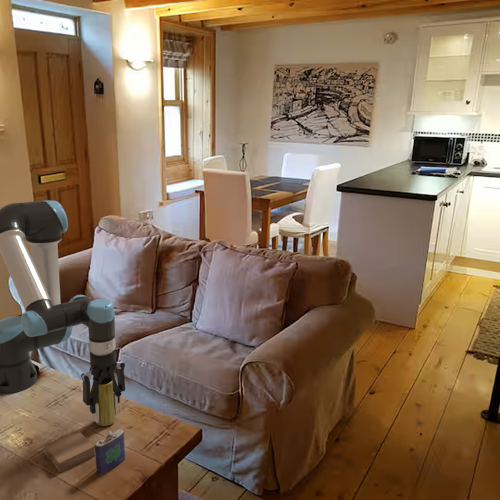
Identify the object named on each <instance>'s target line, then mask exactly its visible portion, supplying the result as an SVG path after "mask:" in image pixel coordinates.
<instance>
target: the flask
mask: <svg viewBox="0 0 500 500" xmlns="http://www.w3.org/2000/svg"><path fill="white" fill-rule="evenodd" d="M107 432H108V434H107V436H106V437H105V438H103V439H99V440H98V441H97V442H96V443H95V444H94V451H95V456H94V457H95V466H96V467H95V468H96V474H97V475H98V476H103V475H106V474H107V473H110V472H111V471H113V470H115V468H116V467H118V466H119V465H121V464H122V463H123V462H124V461H125V459H126V448H125V447H126V445H125V430H123V429H117V430H116V431H114V432H112V430H109V431H107Z"/></svg>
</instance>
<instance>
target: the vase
mask: <svg viewBox="0 0 500 500" xmlns="http://www.w3.org/2000/svg"><path fill="white" fill-rule="evenodd" d="M113 393H114V392H113V380H111V382H110V381H109V379H108V378H105V379H103V380H102V384H99V393H98V397H97V401H96V402H97V403H98V404H99V423H96V422H95V423H96V425H97V426H100V427H107V426H110V425H113V424H114V423H116V419H117V418H116V415H115V407H114V396H113Z"/></svg>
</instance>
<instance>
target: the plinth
mask: <svg viewBox="0 0 500 500" xmlns="http://www.w3.org/2000/svg"><path fill="white" fill-rule="evenodd" d="M43 446H44V454H45V456H46V457H47V458H48V459H49V461H50V462H51V463H52V465H54V467H55V468H56V470H57V471H58V472H59V473H62V472H64V471H66V470H69V469H71V468H73V467H75V466H77V465H79V464H81V463H83V462H85V461H87V460H89V459H92V458H94V457H96V456H95V445H93V444H92V443H91V442H90V441H89V440H88V439H87V437H85V435H83V434H82V433H81V431H80V430H75V431H73V432H71V433H69V434H66V435H64V436H62V437H59V438H57V439H55V440H53V441H50V442H48V443H46V444H44V445H43ZM93 456H94V457H93ZM84 460H85V461H84ZM82 461H83V462H82ZM76 464H77V465H76Z"/></svg>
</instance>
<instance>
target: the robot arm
mask: <svg viewBox="0 0 500 500" xmlns="http://www.w3.org/2000/svg"><path fill="white" fill-rule="evenodd" d="M68 227H69V223H68V217H67V214H66V211H65V210H64V207H63V206H62V205H61V203H60V202H58V201H56V200H45V199H43V200H35V201H25V202H13V203H9V204H6V205H4V206H3V207H1V208H0V254H1V257H2V259H3V262H4V264H5V266H6V268H7V271H8V273H9V275H10V278H11V280H12V282H13V285H14V287H15V290H16V292H17V295H18V297H19V299H20V302H21V303H22V306H23V308H24V310H25V312H23V313H22V314H21V315H17V316H14V315H12V316H8V317H5V318H2V319H0V394H13V393H16V392H17V393H18V392H20V391H24V390H26V389H28V388H30V387H31V386H33V385H35V383H36V382H37V380H38V373H37V370H36V368H35V365H34V364H33V361H32V360H31V355H30V354H31V352H34V351H37V350H41V349H44V348H48V347H51V346H54V345H56V346H57V345H59V344H61V343H63V342H66V341H68V339H70V337H71V335H72V333H73V327H76V326H79V325H84V326H85V327H87V328H88V343H89V363H90V368H89V371H88V372H86V373H83V372H82V373H81V375H80V378H81V380H82V403H84V405H86V406H89V412H90V413H91V414H92V420H93V421H94V422H95V423H99V404H98V403H97V402H96V401H97V397H98V393H99V384H102V380H103V379H105V378H108V379H109V381H110V382H111V380H113V396H114V407H115V416H118V415H119V406H118V405H119V403H120V402H121V399H120V398H121V396H122V392H125V391H126V381H125V380H126V379H125V378H126V377H125V367H126V363H125V362H123V361H122V360H120V359H119V360H118V361H117V354H116V353H117V351H116V322H115V321H116V319H115V317H116V313H115V312H116V311H115V306H114V302H112V301H111V300H110V299H105V298H104V299H103V298H101V299H100V298H99V299H93V298H92V297H89V296H86V295H84V294H77V295H75V296H73V297H72V298H70V300H69V301H67V302H63V303H61V288H60V287H61V286H60V285H61V284H60V268H59V250H58V249H59V248H58V244H59V243H60V242H61V241H62V240H63V238H62V234H64V233H66V232H67V231H68ZM25 241H26V242H27V243H28V244H29V245H30V251H31V253H30V251H29V249H28V247H27V245H26V243H25ZM115 370H116V376H115V374H114V372H115ZM92 376H93V377H92ZM116 378H117V380H116ZM91 379H92V386H91Z"/></svg>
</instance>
